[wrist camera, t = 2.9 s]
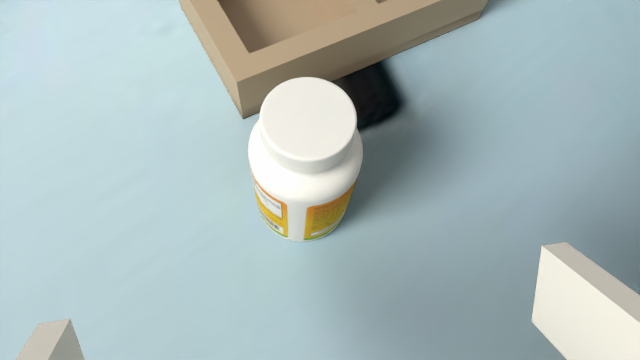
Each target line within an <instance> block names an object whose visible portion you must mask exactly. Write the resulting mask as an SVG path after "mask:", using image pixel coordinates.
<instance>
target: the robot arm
mask: <svg viewBox="0 0 640 360" xmlns="http://www.w3.org/2000/svg"><path fill="white" fill-rule="evenodd" d="M532 322H533V323H534V325H535V326H536V327H537V328H538V329H539V330H540V331H541V332H542V333H543V334H544V335H545V336H546V337H547V339H548V340H549V341H550V342H551V343H552V344H553V345H554V346H555V347H556V348H557V349H558V350H559V351H560V353H561V354H562V355H563V356H564V357H565V358H566V359H567V360H640V295H639V294H637V293H636V292H634V291H633V290H632V289H630V288H629V287H627V286H626V285H625V284H623V283H622V282H621V281H619V280H618V279H616V278H615V277H614V276H612V275H611V274H609V273H608V272H607V271H605V270H604V269H602V268H601V267H600V266H598V265H597V264H596V263H594V262H593V261H591V260H590V259H589V258H587V257H586V256H584V255H583V254H582V253H580V252H579V251H577V250H576V249H575V248H573V247H572V246H571V245H569V244H568V243H566V242H563V243H556V244H550V245H543V246H542V249H541V256H540V263H539V270H538V277H537V285H536V292H535V299H534V306H533V313H532ZM15 360H85V359H84V357H83V354H82V351H81V348H80V345H79V342H78V339H77V336H76V334H75V331H74V328H73V325H72V322H71V319H66V320H60V321H54V322H47V323H41V324H38V325H37V327H36V328H35V330H34V332H33V333H32V335H31V336H30V338H29V339H28V341H27V342H26V344H25V345H24V347H23V349H22V350H21V352H20V353H19V355H18V356H17V358H16V359H15Z"/></svg>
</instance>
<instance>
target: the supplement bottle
mask: <svg viewBox="0 0 640 360" xmlns="http://www.w3.org/2000/svg"><path fill="white" fill-rule="evenodd" d="M248 156H249V164H250V169H251V174H252V179H253V185H254V190H255V195H256V200H257V205H258V209H259V212H260V214H261V217H262V219H263V220H264V222H265V223H266V225H267V226H268V227H269V228H270V229H271V230H272V231H273V232H274V233H276V234H277V235H279V236H281V237H283V238H285V239H288V240H291V241H297V242H307V241H313V240H317V239H319V238H322V237H324V236H326V235H327V234H329V233H330V232H332V231H333V230H334V229H335V228H336V227H337V226H338V224H339V223H340V222H341V220H342V218H343V216H344V214H345V212H346V209H347V206H348V203H349V200H350V197H351V195H352V192H353V189H354V186H355V184H356V181H357V178H358V175H359V172H360V169H361V165H362V159H363V146H362V141H361V137H360V134H359V132H358V129H357V115H356V110H355V107H354V105H353V103H352V101H351V99H350V98H349V96H348V95H347V94H346V93H345V92H344V91H343V90H342V89H341V88H339V87H338V86H337V85H335V84H333V83H331V82H329V81H327V80H324V79H320V78H315V77H300V78H294V79H290V80H288V81H285V82H283V83H281V84H280V85H278V86H276V87H275V88H274V89H273V90H272V91H271V92H270V93H269V94H268V95H267V96H266V98H265V100H264V102H263V104H262V106H261V110H260V116H259V120H258V121H257V123H256V124H255V126H254V128H253V130H252V132H251V135H250V139H249V145H248Z"/></svg>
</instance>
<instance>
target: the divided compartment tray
mask: <svg viewBox="0 0 640 360" xmlns="http://www.w3.org/2000/svg"><path fill="white" fill-rule="evenodd" d="M179 2H180V5H181V8H182V10H183V12H184V13H185V15H186V17H187V19H188V21H189V22H190V24H191V26H192V28H193V30H194V31H195V33H196V35H197V37H198V39H199V40H200V42H201V44H202V46H203V48H204V49H205V51H206V53H207V55H208V57H209V58H210V60H211V62H212V64H213V66H214V67H215V69H216V71H217V73H218V75H219V76H220V78H221V80H222V82H223V84H224V85H225V87H226V89H227V91H228V93H229V94H230V96H231V98H232V100H233V102H234V103H235V105H236V107H237V109H238V111H239V112H240V114H241V116H242V118H243V119H245V118H247V117H249V116H252V115H254V114H256V113H259V112H260V110H261V106H262V104H263V102H264V100H265V98H266V96H267V95H268V94H269V93H270V92H271V91H272V90H273V89H274V88H275V87H276V86H278V85H280V84H281V83H283V82H285V81H288V80H290V79H294V78H300V77H315V78H320V79H324V80H327V81H329V82H332V81H334V80H336V79H339V78H341V77H343V76H346V75H348V74H351V73H353V72H355V71H358V70H360V69H362V68H365V67H367V66H369V65H372V64H374V63H376V62H379V61H381V60H384V59H386V58H388V57H391V56H393V55H395V54H398V53H400V52H402V51H405V50H407V49H409V48H412V47H414V46H417V45H419V44H421V43H424V42H426V41H428V40H431V39H433V38H435V37H438V36H440V35H442V34H445V33H447V32H450V31H452V30H454V29H457V28H459V27H461V26H464V25H466V24H468V23H471V22H473V21H475V20H478V19H479V17H480V15H481V13H482V11H483V10H484V8H485V6H486V4H487V2H488V0H179Z"/></svg>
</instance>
